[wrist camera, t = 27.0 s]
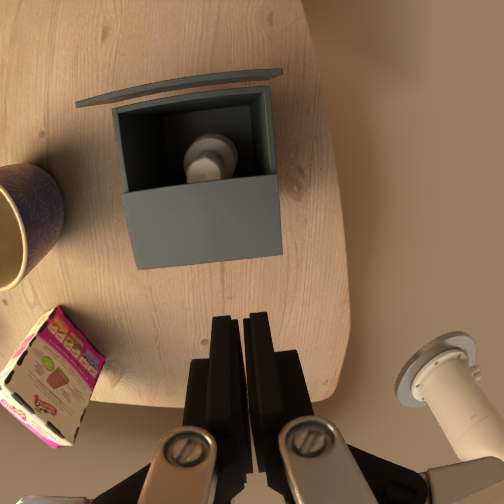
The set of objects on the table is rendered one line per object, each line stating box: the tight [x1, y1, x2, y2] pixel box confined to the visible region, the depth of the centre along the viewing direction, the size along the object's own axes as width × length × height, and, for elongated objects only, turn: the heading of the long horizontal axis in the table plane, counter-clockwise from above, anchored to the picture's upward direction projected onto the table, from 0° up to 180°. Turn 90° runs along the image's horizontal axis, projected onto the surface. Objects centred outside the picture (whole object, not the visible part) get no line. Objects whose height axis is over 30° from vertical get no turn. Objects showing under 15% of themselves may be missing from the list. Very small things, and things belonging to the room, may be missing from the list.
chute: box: [76, 68, 283, 193], centre depth 23 cm, size 12×10×20 cm
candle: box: [183, 133, 238, 183], centre depth 27 cm, size 5×5×12 cm
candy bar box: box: [0, 306, 106, 449], centre depth 33 cm, size 11×5×16 cm, turn 29°
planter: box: [0, 164, 64, 292], centre depth 28 cm, size 12×12×11 cm
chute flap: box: [121, 174, 283, 270], centre depth 20 cm, size 5×10×1 cm, turn 95°
